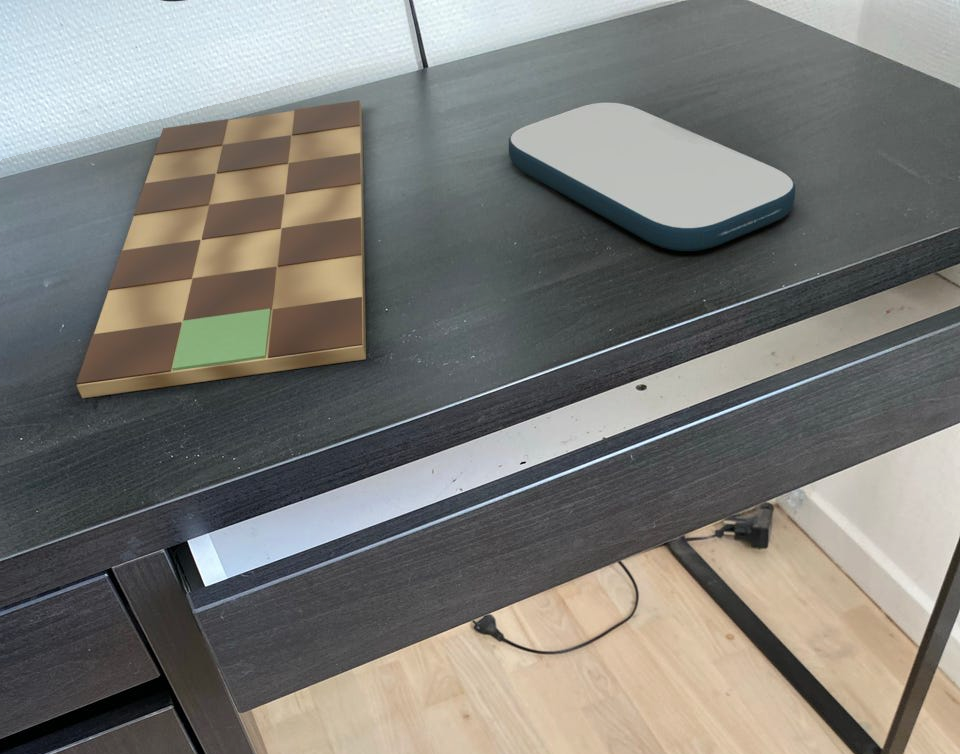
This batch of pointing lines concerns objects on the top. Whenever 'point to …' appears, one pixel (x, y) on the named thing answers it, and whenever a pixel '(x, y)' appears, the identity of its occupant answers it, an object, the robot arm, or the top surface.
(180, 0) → the rook
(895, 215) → the top surface
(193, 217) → the chessboard
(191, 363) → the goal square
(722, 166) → the external hard drive
